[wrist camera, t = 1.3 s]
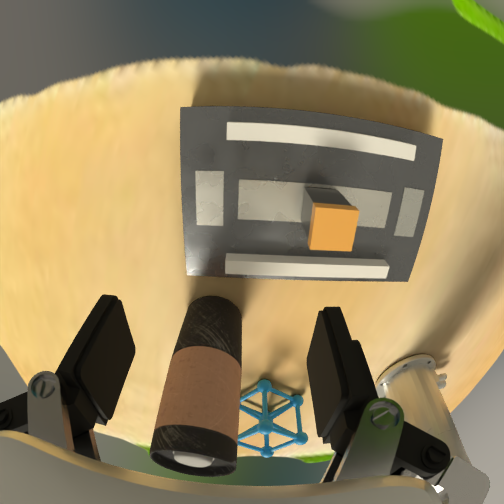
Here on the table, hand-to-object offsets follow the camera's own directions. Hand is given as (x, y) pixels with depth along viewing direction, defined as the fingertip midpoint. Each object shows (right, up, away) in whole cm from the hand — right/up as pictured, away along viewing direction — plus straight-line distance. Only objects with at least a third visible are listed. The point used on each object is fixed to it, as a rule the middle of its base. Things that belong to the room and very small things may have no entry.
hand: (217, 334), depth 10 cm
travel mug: (-4, -5, +26) cm, 27 cm away
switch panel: (+7, +9, +18) cm, 21 cm away
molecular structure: (+4, -22, +35) cm, 42 cm away
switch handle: (+7, +7, +14) cm, 17 cm away
